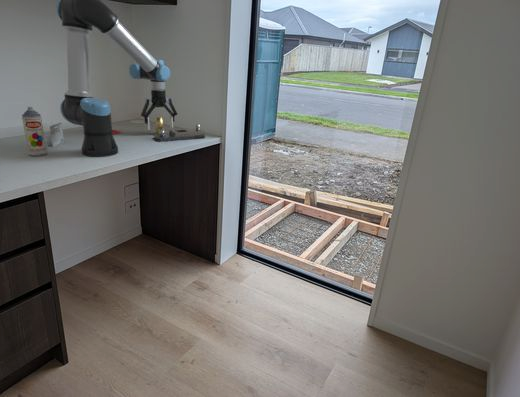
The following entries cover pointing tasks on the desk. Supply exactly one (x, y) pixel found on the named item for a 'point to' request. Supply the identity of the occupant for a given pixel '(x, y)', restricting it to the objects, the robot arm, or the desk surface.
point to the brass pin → (159, 124)
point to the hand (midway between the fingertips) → (160, 128)
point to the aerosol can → (34, 133)
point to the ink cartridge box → (55, 135)
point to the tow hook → (115, 131)
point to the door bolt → (181, 134)
